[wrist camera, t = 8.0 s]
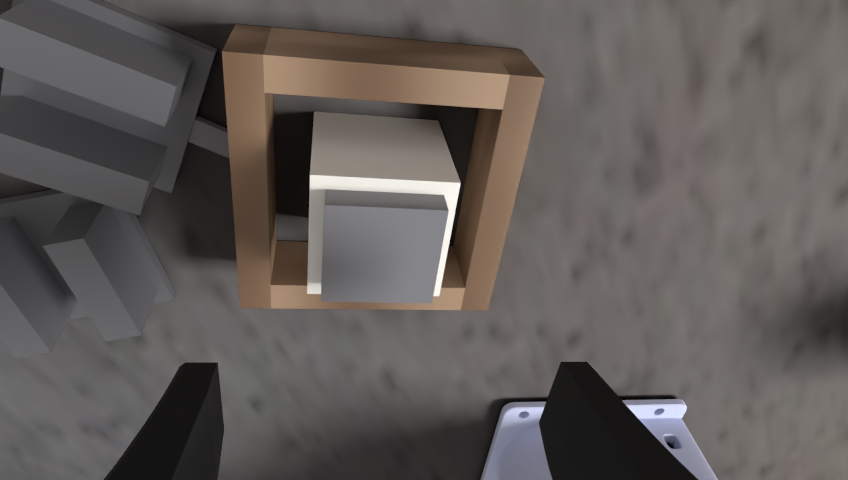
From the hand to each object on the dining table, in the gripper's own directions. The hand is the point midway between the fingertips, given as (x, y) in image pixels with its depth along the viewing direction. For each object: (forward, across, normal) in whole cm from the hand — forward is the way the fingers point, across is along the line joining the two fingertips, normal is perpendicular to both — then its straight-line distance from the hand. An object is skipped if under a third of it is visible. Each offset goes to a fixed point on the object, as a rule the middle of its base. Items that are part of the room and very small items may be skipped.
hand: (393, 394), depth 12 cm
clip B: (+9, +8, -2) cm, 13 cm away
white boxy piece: (+10, 0, 0) cm, 10 cm away
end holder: (+9, 0, -1) cm, 9 cm away
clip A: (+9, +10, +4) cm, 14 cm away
